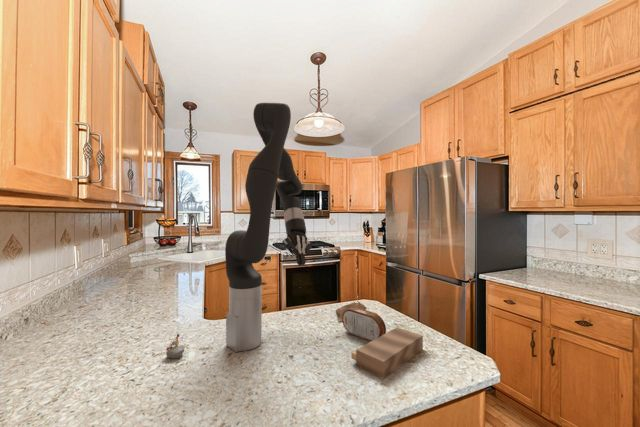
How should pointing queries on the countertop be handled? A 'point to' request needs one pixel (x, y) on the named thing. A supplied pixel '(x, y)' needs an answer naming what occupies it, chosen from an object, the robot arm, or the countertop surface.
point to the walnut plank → (388, 352)
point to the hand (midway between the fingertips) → (301, 265)
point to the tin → (363, 323)
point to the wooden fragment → (342, 309)
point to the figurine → (175, 349)
